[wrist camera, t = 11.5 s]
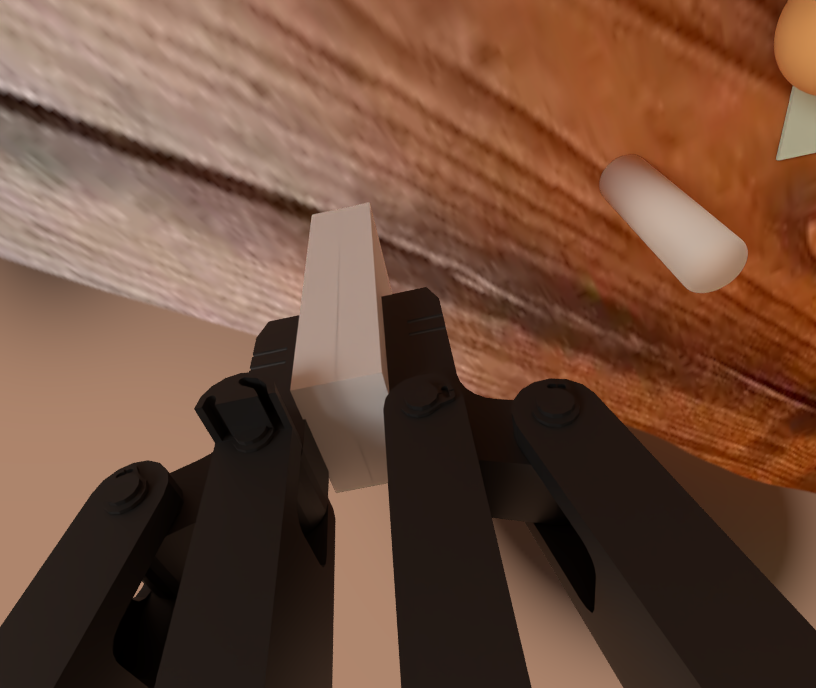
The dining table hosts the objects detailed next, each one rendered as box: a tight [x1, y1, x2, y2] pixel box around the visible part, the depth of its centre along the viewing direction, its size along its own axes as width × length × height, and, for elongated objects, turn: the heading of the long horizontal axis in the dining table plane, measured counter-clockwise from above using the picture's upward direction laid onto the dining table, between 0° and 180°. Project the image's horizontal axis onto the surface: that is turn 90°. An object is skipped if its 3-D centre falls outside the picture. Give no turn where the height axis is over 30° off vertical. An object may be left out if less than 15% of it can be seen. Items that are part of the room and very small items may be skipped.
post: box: [599, 154, 748, 293], centre depth 25 cm, size 3×3×9 cm
